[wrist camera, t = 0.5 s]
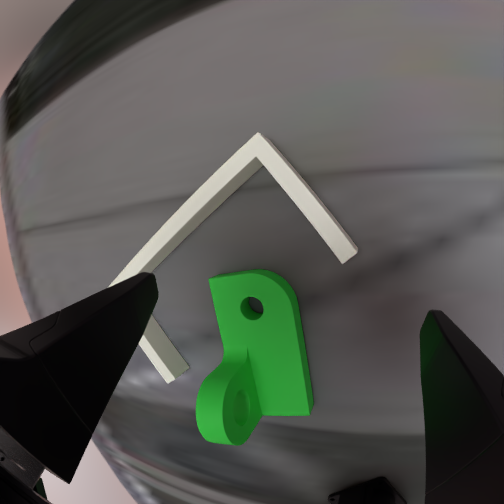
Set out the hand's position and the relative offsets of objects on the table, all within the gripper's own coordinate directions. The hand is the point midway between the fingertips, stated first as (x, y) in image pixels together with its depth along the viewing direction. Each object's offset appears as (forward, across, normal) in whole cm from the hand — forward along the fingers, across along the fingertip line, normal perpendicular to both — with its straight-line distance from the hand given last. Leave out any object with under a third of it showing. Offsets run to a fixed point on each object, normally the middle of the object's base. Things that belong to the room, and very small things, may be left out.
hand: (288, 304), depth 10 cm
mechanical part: (+10, +2, +13) cm, 16 cm away
